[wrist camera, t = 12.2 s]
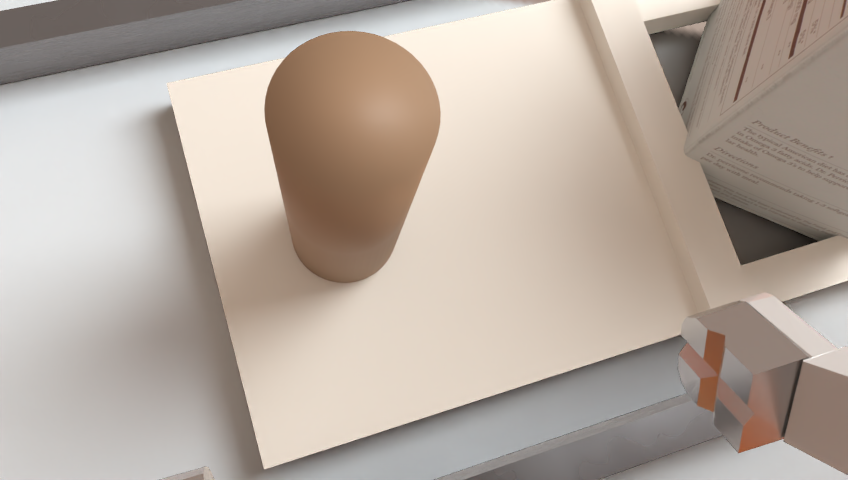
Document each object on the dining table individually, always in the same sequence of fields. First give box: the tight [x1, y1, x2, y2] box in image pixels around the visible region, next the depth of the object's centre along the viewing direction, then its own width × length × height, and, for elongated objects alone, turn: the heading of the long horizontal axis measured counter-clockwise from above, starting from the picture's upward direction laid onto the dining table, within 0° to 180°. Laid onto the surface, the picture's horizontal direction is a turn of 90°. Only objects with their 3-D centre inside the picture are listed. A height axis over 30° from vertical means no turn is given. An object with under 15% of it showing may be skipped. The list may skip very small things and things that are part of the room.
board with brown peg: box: [167, 0, 848, 470], centre depth 20 cm, size 26×12×10 cm, turn 107°
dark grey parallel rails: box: [0, 0, 722, 480], centre depth 22 cm, size 26×18×2 cm
